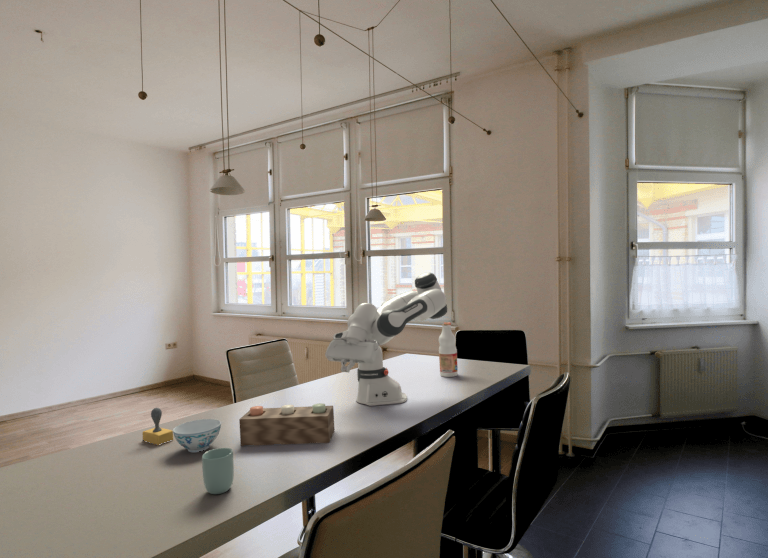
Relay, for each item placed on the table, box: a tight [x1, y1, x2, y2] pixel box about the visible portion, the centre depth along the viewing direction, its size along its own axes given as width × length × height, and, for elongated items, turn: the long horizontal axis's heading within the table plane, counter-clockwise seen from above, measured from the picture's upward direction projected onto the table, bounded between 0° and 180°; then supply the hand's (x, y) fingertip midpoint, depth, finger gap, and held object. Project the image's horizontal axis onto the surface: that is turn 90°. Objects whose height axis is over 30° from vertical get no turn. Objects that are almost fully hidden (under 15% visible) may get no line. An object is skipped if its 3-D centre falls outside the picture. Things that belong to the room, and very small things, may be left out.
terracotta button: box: [249, 405, 264, 416], centre depth 158 cm, size 4×4×3 cm
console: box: [239, 405, 335, 447], centre depth 158 cm, size 30×12×9 cm, turn 87°
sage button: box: [311, 403, 326, 413], centre depth 157 cm, size 4×4×3 cm
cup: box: [201, 447, 235, 495], centre depth 120 cm, size 8×8×10 cm
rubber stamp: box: [142, 407, 174, 446], centre depth 162 cm, size 10×6×12 cm, turn 58°
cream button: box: [280, 404, 295, 415], centre depth 158 cm, size 4×4×3 cm
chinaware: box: [172, 418, 222, 453], centre depth 152 cm, size 15×15×8 cm
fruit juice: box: [438, 321, 459, 378], centre depth 241 cm, size 9×9×28 cm
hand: (344, 371), depth 166 cm, fingers closed
